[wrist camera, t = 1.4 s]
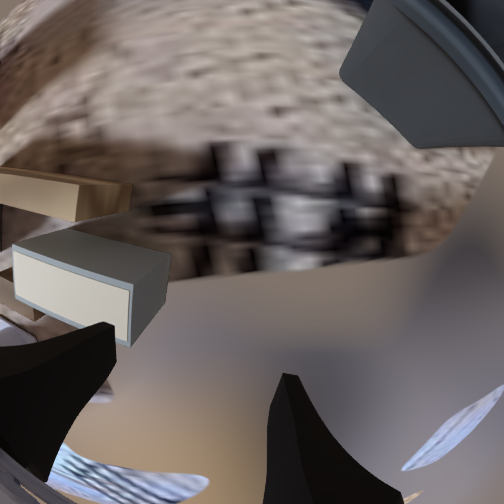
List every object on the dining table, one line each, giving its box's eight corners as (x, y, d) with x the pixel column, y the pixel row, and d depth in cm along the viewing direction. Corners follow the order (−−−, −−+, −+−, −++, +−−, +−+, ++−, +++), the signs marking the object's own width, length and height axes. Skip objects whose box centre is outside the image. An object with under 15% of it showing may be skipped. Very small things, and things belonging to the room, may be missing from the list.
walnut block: (52, 309, 22) (34, 321, 19) (16, 292, 21) (-2, 301, 18) (50, 281, 21) (31, 291, 18) (14, 266, 21) (-5, 273, 18)
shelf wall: (128, 210, 19) (74, 222, 13) (-3, 185, 19) (-50, 190, 12) (132, 184, 19) (79, 185, 12) (-1, 166, 19) (-48, 167, 12)
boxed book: (165, 302, 21) (130, 348, 14) (66, 271, 21) (14, 298, 14) (171, 254, 20) (133, 284, 13) (68, 227, 20) (11, 243, 13)
